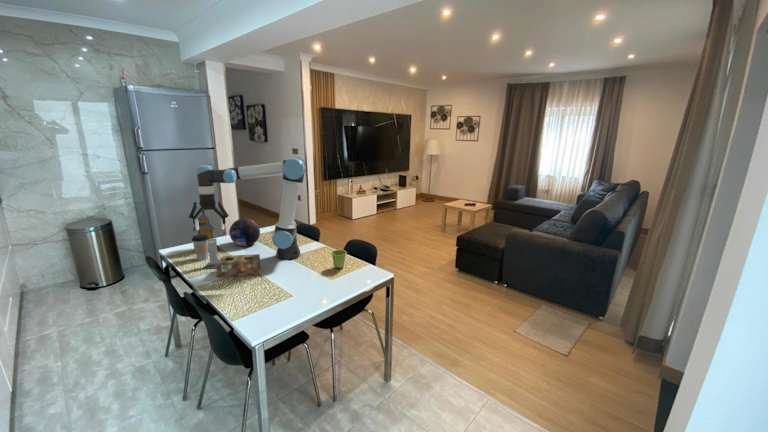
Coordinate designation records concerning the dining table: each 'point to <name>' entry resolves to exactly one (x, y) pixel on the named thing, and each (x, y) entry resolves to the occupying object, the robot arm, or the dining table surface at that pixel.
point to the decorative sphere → (244, 232)
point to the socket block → (238, 265)
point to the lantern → (206, 227)
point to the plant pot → (338, 257)
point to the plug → (213, 251)
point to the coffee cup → (201, 246)
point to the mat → (209, 266)
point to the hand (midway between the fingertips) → (210, 229)
